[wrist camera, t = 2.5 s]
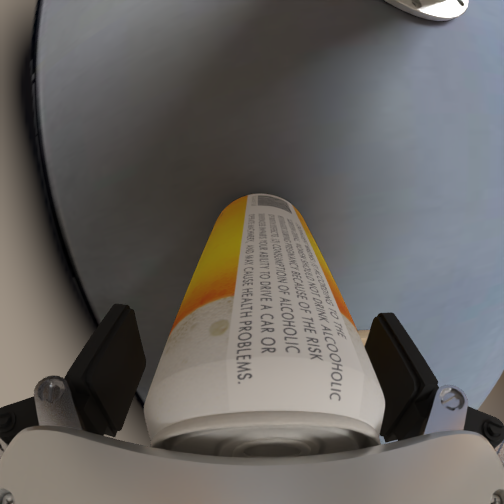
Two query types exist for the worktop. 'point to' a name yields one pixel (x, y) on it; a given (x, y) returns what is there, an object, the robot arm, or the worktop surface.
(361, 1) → the worktop surface
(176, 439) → the beer can
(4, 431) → the robot arm
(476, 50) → the worktop surface
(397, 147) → the worktop surface
